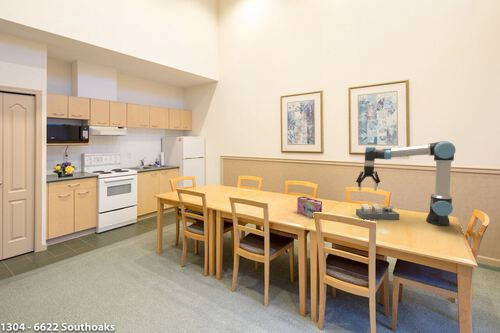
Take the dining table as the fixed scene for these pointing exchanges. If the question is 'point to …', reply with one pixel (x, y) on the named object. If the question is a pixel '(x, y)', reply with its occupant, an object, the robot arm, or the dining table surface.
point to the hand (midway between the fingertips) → (367, 190)
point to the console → (377, 214)
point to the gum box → (308, 206)
